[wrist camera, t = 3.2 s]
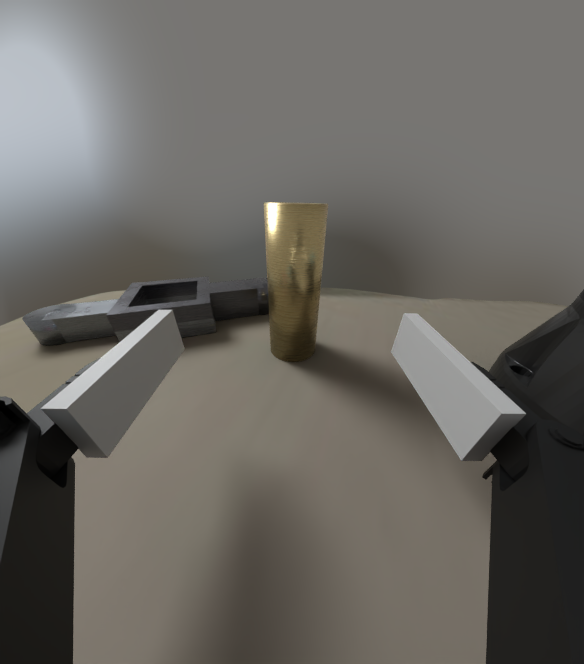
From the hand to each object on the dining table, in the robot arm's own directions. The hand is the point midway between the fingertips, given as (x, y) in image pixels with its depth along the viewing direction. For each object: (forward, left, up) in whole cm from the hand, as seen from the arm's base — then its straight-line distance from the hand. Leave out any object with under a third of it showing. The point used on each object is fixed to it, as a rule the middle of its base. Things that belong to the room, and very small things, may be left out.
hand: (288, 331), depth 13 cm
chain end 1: (+14, -19, -8) cm, 25 cm away
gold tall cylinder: (-3, -8, -8) cm, 12 cm away
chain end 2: (+5, -19, -8) cm, 21 cm away
